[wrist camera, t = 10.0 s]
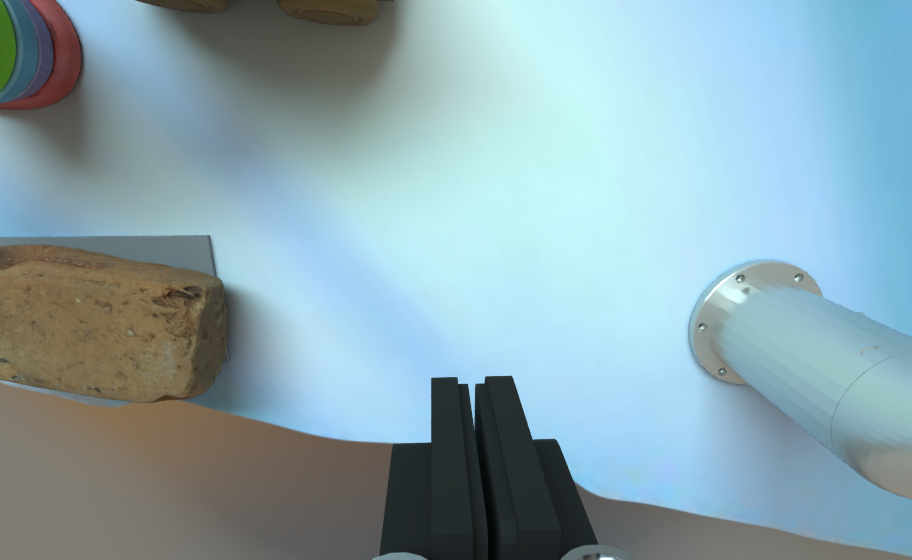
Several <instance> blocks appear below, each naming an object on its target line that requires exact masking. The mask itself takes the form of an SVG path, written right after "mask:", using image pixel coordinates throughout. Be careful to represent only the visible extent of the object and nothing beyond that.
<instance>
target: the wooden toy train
mask: <svg viewBox="0 0 912 560" xmlns="http://www.w3.org/2000/svg"><path fill="white" fill-rule="evenodd" d="M136 1H139V2H143V3H147V4H151V5H155V6H159V7H164V8H170V9H176V10H182V11H191V12H202V13H218V12H223V11H224V10H225V9H226V8H227V7H228V5H229V3H230V0H136ZM277 1H278V4H279V5H280V7H281V8H282V9H283V10H284V12H285V13H287V14H289V15H291V16H294V17H297V18H300V19H304V20H309V21H313V22H319V23H325V24H334V25H347V26H359V25H367V24H370V23H372V22H373V21H374V20H375V19H376V17H377V14H378V12H379V9H380V6H379V3H378V0H277ZM383 1H393V0H383Z"/></svg>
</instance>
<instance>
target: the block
mask: <svg viewBox="0 0 912 560" xmlns="http://www.w3.org/2000/svg"><path fill="white" fill-rule="evenodd" d="M224 296H225V292H224V287H223V283H222V281H221V280H220V279H219V278H217V277H215V276H212V275H209V274H206V273H203V272H200V271H195V270H191V269H187V268H175V267H171V266H167V265H164V264H157V263H147V262H140V261H133V260H127V259H122V258H119V257H116V256H112V255H108V254H104V253H99V252H90V251H87V250H83V249H76V248H69V247H62V246H54V245H47V244H41V245H37V244H30V245H25V244H23V245H10V246H0V380H3V381H9V382H14V383H18V384H23V385H28V386H34V387H40V388H45V389H51V390H57V391H63V392H70V393H76V394H81V395H88V396H94V397H99V398H105V399H113V400H124V401H132V402H141V403H142V402H143V403H154V402H158V401H165V400H179V399H190V398H192V397H194V396H197V395H202V394H203V393H205V392H206V391H207V390H208V388H209V387H210V386H211V385H212V384H213V383H214V381H215V379H216V377H217V375H218V373H219V372H220V371H221V364H222V362H223V361H224V357H225V352H226V345H227V308H226V304H225V301H224Z"/></svg>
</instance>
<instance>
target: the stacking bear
mask: <svg viewBox="0 0 912 560" xmlns="http://www.w3.org/2000/svg"><path fill="white" fill-rule="evenodd" d="M80 67H81V51H80V45H79V40H78V37H77V34H76V32H75V29H74V27H73V25H72V23H71V21H70V19H69V18H68V16H67V15H66V13H65V12H64V10H63V9H62V8H61V7H60V6H59V4H58V3H57V2H56V1H55V0H0V109H9V110H27V109H35V108H40V107H44V106H47V105H51V104H53V103H56V102H58V101H59V100H61V99H62V98H64V97H65V96H66V95H67V94H68V93H69V92H70V91H71V89H72V88H73V87H74V85H75V83H76V81H77V79H78V76H79V72H80Z"/></svg>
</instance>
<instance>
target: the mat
mask: <svg viewBox="0 0 912 560" xmlns="http://www.w3.org/2000/svg"><path fill="white" fill-rule="evenodd" d="M23 244H25V245H30V244H37V245H41V244H47V245H54V246H62V247H69V248H76V249H83V250H87V251H90V252H99V253H104V254H108V255H112V256H116V257H119V258H122V259H127V260H133V261H140V262H147V263H157V264H164V265H167V266H171V267H175V268H187V269H191V270H195V271H200V272H203V273H206V274H209V275H212V276H215V277H216V274H215V268H214V261H213V255H212V249H211V243H210V237H209V235H194V236H89V237H0V246H10V245H23ZM223 362H229V354H228V348H227V345H226V352H225V357H224V361H223Z"/></svg>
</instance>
